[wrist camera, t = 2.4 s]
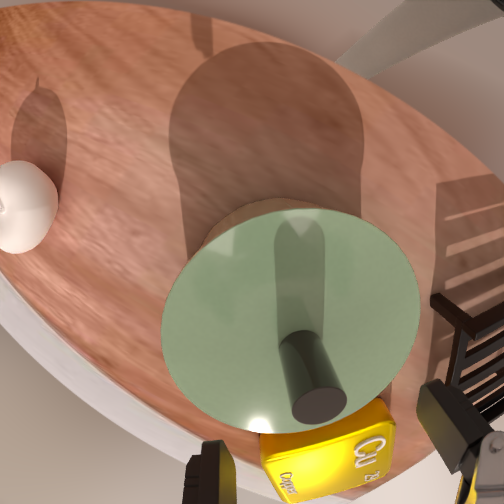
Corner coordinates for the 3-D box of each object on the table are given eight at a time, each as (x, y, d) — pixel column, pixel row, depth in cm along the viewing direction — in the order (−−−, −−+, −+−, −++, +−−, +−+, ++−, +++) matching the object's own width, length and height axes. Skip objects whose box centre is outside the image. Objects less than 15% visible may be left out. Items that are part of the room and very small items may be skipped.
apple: (72, 155, 20) (10, 157, 12) (75, 240, 22) (19, 273, 14) (14, 162, 19) (-47, 170, 12) (18, 238, 21) (-37, 266, 14)
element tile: (254, 428, 29) (256, 462, 24) (383, 390, 28) (400, 419, 24) (281, 483, 33) (284, 508, 29) (380, 454, 33) (390, 477, 28)
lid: (126, 244, 14) (75, 287, 9) (404, 180, 14) (475, 194, 9) (210, 436, 19) (206, 498, 13) (405, 387, 18) (439, 438, 13)
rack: (427, 293, 25) (476, 333, 17) (520, 254, 25) (564, 276, 17) (413, 412, 30) (439, 454, 23) (497, 366, 30) (526, 396, 22)
